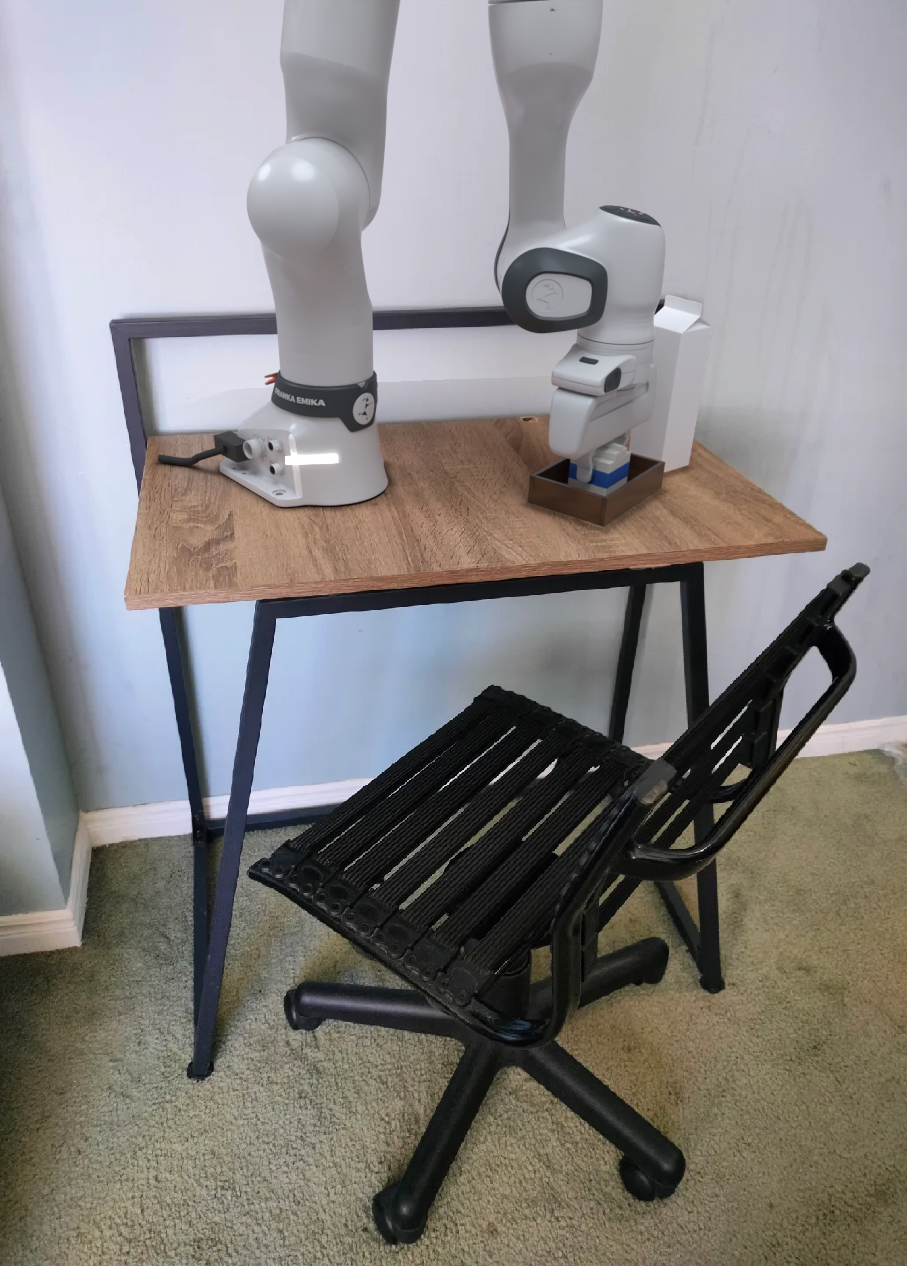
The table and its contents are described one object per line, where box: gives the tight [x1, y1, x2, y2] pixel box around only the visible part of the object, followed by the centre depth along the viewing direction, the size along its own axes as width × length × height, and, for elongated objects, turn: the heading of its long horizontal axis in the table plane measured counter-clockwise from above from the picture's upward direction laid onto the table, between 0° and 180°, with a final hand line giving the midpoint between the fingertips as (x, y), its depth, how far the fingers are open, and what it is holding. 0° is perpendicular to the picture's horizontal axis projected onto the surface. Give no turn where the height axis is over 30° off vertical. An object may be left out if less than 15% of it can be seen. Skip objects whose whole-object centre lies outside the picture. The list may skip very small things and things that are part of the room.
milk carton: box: [568, 441, 631, 496], centre depth 114 cm, size 5×5×7 cm
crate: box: [527, 453, 665, 528], centre depth 115 cm, size 11×15×4 cm
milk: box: [628, 294, 714, 473], centre depth 120 cm, size 6×6×22 cm
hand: (598, 471), depth 114 cm, fingers closed on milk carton, 5 cm apart
